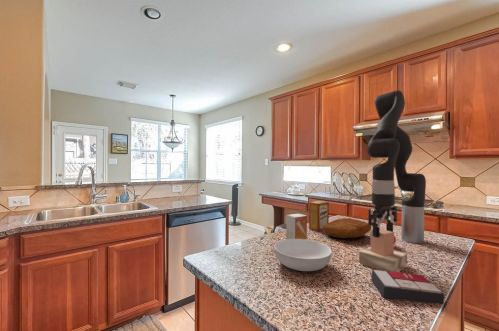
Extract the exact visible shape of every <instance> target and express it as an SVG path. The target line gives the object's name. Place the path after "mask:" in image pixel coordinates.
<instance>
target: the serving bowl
mask: <svg viewBox="0 0 499 331" xmlns="http://www.w3.org/2000/svg"><path fill="white" fill-rule="evenodd" d="M273 249H274V250H273V251H274V254H275V257H276V259H277V260H278V261H279V263H281V264H282V265H283V266H285V267H287V268H289V269H290V270H291V269H292V270H293V271H294V270H296V271H301V272H315V271H319V270H321V269H323V268H325V267H327V266H328V264H329V263H330V261H331V259H332V253H333V251H332V249H331V247H330V246H328V245H327V244H325V243H322V242H319V241H316V240H312V239H307V240H306V239H287V240H286V239H282V240H280V241H279V240H278V241H277V242H276V243H275V244H274V245H273Z"/></svg>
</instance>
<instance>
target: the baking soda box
mask: <svg viewBox="0 0 499 331" xmlns="http://www.w3.org/2000/svg"><path fill="white" fill-rule="evenodd" d="M329 207H330V206H329V201H324V200H323V201H322V200H315V201H310V202H308V229H309V230H312V231H315V232H317V233H318V232H321V231H322V230H323V227H324V226H325V225H326V224H328V223H330V220H329V218H330V215H329V212H330V210H329Z"/></svg>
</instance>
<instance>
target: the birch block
mask: <svg viewBox="0 0 499 331" xmlns="http://www.w3.org/2000/svg"><path fill="white" fill-rule="evenodd" d="M358 255H359V256H358V263H360V265H362V264H363V266H365V265H366V267H368V266H369V268H372V269H374V270H378V271H386V272H388V271H392V272H400V271H401V270H403V269H404V268H406V267H408V253H407V252H403V251H399V250H395V249H394V254H391V255H388V256H382V255H379V254H376V253H373V252H371V251H370V246H368V247H367V248H364V249H361V250H359V252H358Z"/></svg>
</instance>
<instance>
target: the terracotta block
mask: <svg viewBox="0 0 499 331" xmlns="http://www.w3.org/2000/svg"><path fill="white" fill-rule="evenodd" d="M369 232H370V235H369V236H370V239H369V240H370V245H369V247H370V251H371V252H373V253H376V254H379V255H382V256H388V255H391V254H394V250H395V247H394V246H395V244H394V236H395V232H394V231H393V232H391V231H387V230H386V229H383V228H380V237H378V238H377V237H374V236H373V229H371V230H370V231H369Z"/></svg>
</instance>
